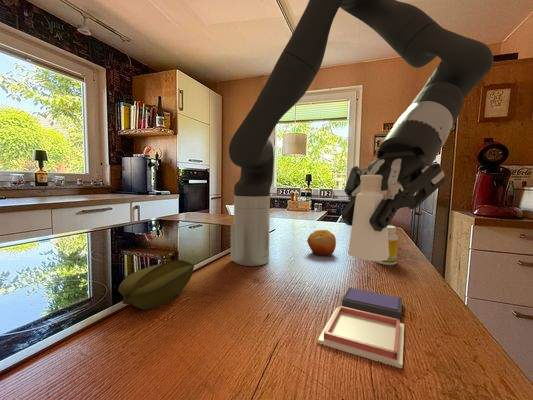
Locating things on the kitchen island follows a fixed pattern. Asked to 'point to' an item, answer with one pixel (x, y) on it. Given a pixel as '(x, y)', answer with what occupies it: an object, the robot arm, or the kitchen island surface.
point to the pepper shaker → (368, 223)
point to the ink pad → (373, 302)
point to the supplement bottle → (391, 247)
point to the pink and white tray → (365, 335)
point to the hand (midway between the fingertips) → (360, 223)
